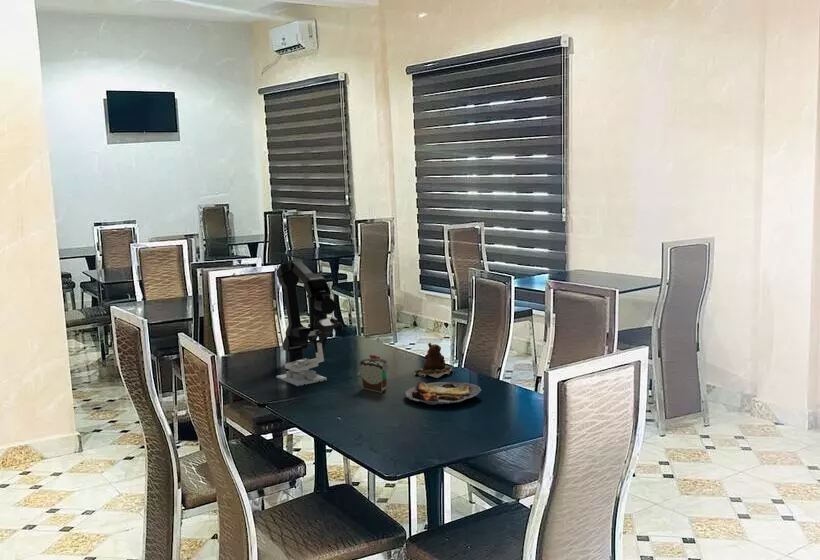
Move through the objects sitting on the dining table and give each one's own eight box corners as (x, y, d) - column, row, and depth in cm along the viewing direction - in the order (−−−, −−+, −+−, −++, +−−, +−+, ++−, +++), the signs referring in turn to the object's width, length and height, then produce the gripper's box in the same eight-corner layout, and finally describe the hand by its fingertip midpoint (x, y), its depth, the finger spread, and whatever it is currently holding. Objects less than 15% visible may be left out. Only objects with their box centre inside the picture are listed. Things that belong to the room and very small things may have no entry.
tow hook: (389, 370, 298) (380, 356, 295) (371, 389, 293) (362, 374, 290) (378, 367, 303) (369, 353, 300) (361, 386, 298) (351, 371, 295)
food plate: (394, 405, 255) (393, 394, 254) (418, 386, 276) (418, 376, 276) (469, 410, 246) (469, 399, 246) (488, 390, 268) (487, 380, 267)
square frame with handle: (316, 358, 300) (314, 341, 298) (328, 362, 293) (326, 344, 291) (285, 368, 292) (282, 349, 291) (296, 372, 285) (294, 353, 283)
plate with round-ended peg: (276, 378, 294) (275, 360, 293) (304, 372, 301) (303, 354, 300) (297, 386, 281) (296, 367, 280) (326, 380, 288) (325, 361, 288)
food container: (397, 389, 272) (396, 361, 271) (384, 393, 268) (383, 364, 267) (372, 384, 281) (371, 356, 280) (359, 387, 276) (358, 359, 275)
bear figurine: (460, 370, 297) (459, 338, 296) (439, 379, 285) (438, 346, 283) (429, 366, 305) (428, 335, 303) (408, 375, 292) (406, 343, 291)
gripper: (305, 316, 281) (307, 359, 283) (349, 309, 292) (351, 351, 294) (290, 313, 290) (292, 354, 292) (334, 306, 301) (336, 347, 303)
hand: (318, 352), depth 295 cm, fingers closed on square frame with handle, 2 cm apart
